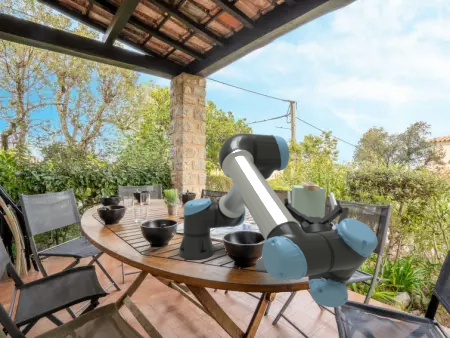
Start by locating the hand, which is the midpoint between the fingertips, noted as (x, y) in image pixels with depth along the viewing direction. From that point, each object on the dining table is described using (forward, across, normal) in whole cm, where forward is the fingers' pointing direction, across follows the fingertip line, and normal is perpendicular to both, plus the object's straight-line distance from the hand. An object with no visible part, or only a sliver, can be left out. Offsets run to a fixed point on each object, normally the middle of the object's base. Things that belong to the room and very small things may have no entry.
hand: (309, 194), depth 82 cm
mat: (-3, -11, -32) cm, 34 cm away
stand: (+8, +2, -38) cm, 39 cm away
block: (+18, +3, -10) cm, 20 cm away
